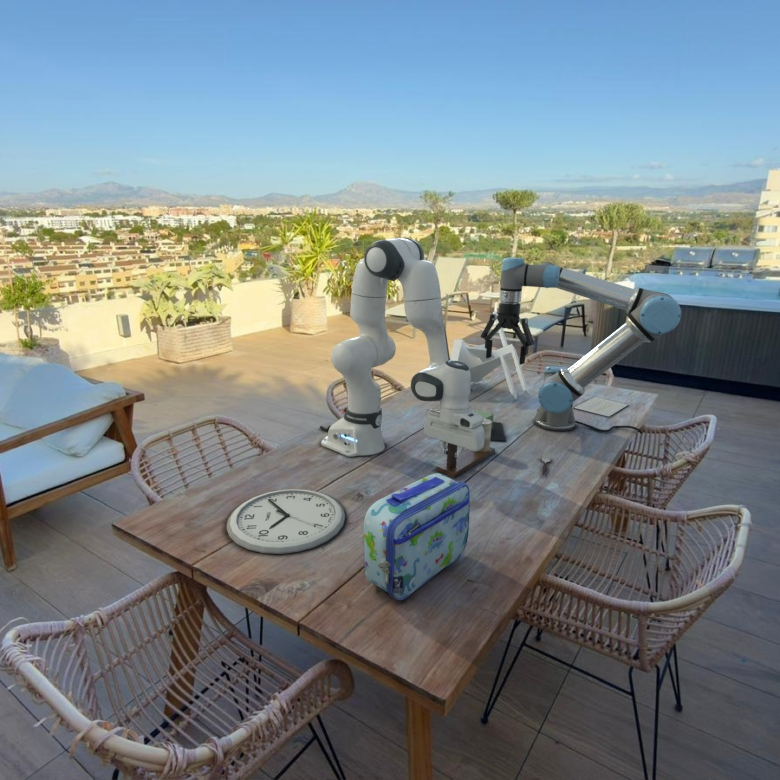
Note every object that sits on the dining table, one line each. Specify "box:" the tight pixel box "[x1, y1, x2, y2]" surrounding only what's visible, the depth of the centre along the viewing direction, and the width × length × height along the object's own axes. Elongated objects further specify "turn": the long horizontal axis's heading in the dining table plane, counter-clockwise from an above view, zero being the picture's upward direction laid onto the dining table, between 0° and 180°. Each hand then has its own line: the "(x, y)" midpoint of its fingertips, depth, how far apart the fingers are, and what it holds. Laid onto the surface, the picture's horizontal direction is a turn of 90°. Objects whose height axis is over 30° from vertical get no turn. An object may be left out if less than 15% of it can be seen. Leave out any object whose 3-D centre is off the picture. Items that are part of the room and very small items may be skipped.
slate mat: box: [490, 421, 506, 443], centre depth 197 cm, size 18×18×1 cm
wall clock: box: [226, 488, 346, 555], centre depth 135 cm, size 30×2×30 cm
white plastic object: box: [450, 310, 531, 400], centre depth 245 cm, size 37×45×31 cm
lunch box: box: [362, 472, 471, 601], centre depth 112 cm, size 26×11×21 cm, turn 134°
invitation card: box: [573, 396, 629, 418], centre depth 226 cm, size 21×1×15 cm
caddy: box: [435, 418, 496, 478], centre depth 170 cm, size 7×25×12 cm, turn 140°
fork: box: [541, 451, 552, 476], centre depth 168 cm, size 3×16×2 cm, turn 160°
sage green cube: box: [473, 409, 494, 430], centre depth 196 cm, size 7×7×6 cm
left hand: (451, 455), depth 163 cm, fingers closed on caddy, 3 cm apart
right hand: (504, 360), depth 192 cm, fingers open, 13 cm apart
